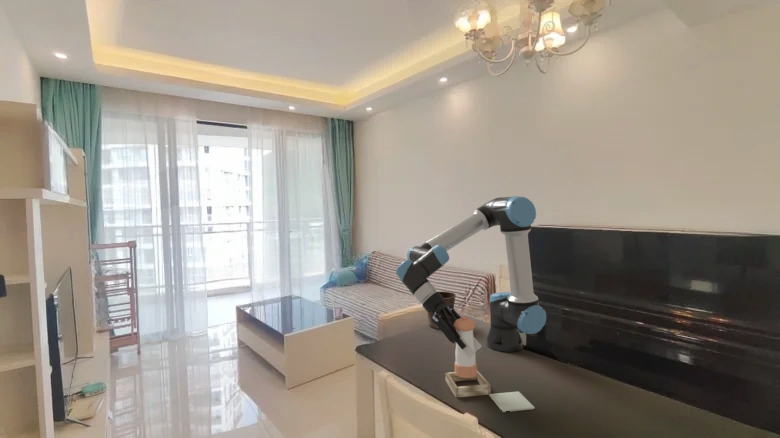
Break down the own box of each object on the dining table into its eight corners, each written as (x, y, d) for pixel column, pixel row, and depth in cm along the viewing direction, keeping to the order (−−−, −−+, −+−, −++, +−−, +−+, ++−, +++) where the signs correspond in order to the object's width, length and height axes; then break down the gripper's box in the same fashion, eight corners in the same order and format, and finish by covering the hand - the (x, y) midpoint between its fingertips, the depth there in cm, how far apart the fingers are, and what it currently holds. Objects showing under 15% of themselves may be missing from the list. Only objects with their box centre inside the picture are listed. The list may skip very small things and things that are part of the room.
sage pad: (518, 392, 121) (518, 391, 121) (534, 409, 111) (534, 407, 111) (489, 395, 120) (489, 394, 120) (502, 412, 110) (502, 410, 110)
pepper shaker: (459, 367, 130) (457, 312, 130) (479, 371, 127) (478, 315, 126) (451, 375, 124) (450, 318, 124) (472, 380, 120) (471, 321, 120)
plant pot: (423, 330, 187) (422, 298, 186) (425, 320, 202) (425, 291, 202) (456, 331, 184) (456, 298, 183) (456, 321, 200) (455, 291, 199)
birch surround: (477, 378, 132) (477, 370, 132) (490, 394, 121) (490, 385, 121) (445, 381, 131) (445, 372, 131) (456, 397, 119) (455, 388, 119)
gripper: (434, 298, 141) (477, 349, 133) (410, 311, 125) (457, 369, 117) (446, 285, 138) (492, 336, 130) (424, 296, 122) (473, 355, 114)
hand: (475, 352), depth 123 cm, fingers closed on pepper shaker, 5 cm apart
